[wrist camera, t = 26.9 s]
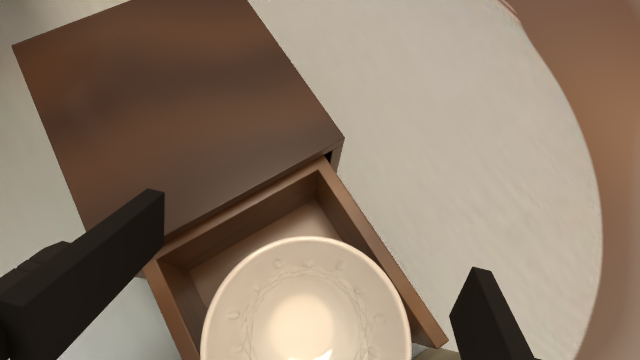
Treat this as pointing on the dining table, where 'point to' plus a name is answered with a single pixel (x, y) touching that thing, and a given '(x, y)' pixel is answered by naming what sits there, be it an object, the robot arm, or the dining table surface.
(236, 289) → the white cup
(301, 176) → the drawer
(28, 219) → the dining table surface
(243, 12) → the cabinet
